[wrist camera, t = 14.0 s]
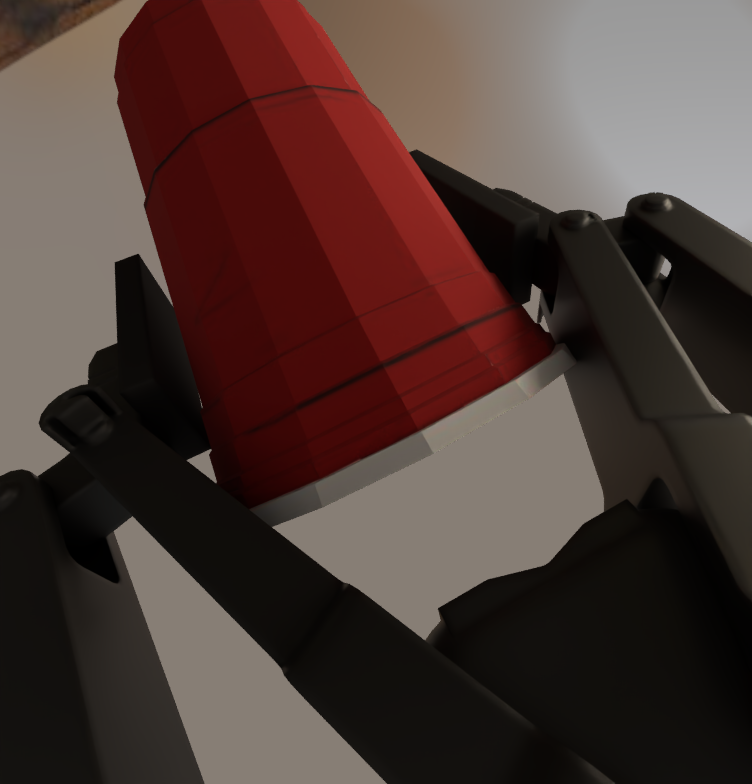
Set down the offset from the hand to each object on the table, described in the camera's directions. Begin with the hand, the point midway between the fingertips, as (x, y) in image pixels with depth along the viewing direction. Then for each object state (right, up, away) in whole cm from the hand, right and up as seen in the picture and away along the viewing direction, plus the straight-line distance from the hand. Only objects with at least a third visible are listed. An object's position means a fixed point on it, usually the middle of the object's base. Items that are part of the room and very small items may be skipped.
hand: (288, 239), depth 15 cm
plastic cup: (-1, +4, -3) cm, 5 cm away
